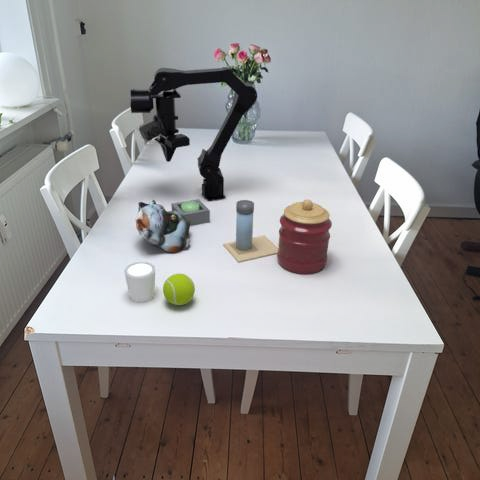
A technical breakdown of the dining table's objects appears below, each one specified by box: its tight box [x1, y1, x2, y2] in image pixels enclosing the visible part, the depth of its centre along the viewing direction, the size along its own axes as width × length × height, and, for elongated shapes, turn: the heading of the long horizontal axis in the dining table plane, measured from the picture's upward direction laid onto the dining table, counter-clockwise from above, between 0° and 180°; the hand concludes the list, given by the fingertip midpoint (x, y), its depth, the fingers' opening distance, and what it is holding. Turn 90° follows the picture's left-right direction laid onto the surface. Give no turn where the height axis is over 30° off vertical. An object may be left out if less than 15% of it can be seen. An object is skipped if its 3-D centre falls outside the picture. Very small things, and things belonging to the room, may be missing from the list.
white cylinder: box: [123, 261, 156, 303], centre depth 105 cm, size 7×7×7 cm
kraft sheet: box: [222, 234, 279, 264], centre depth 127 cm, size 13×10×1 cm
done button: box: [181, 200, 199, 213], centre depth 141 cm, size 5×5×4 cm
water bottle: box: [235, 199, 255, 251], centre depth 124 cm, size 5×5×13 cm
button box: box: [170, 198, 211, 227], centre depth 141 cm, size 9×9×4 cm
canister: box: [276, 198, 333, 275], centre depth 117 cm, size 13×13×18 cm
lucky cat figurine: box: [135, 199, 191, 254], centre depth 125 cm, size 15×12×14 cm
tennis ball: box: [162, 273, 196, 306], centre depth 103 cm, size 7×7×7 cm
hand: (168, 161), depth 149 cm, fingers closed
